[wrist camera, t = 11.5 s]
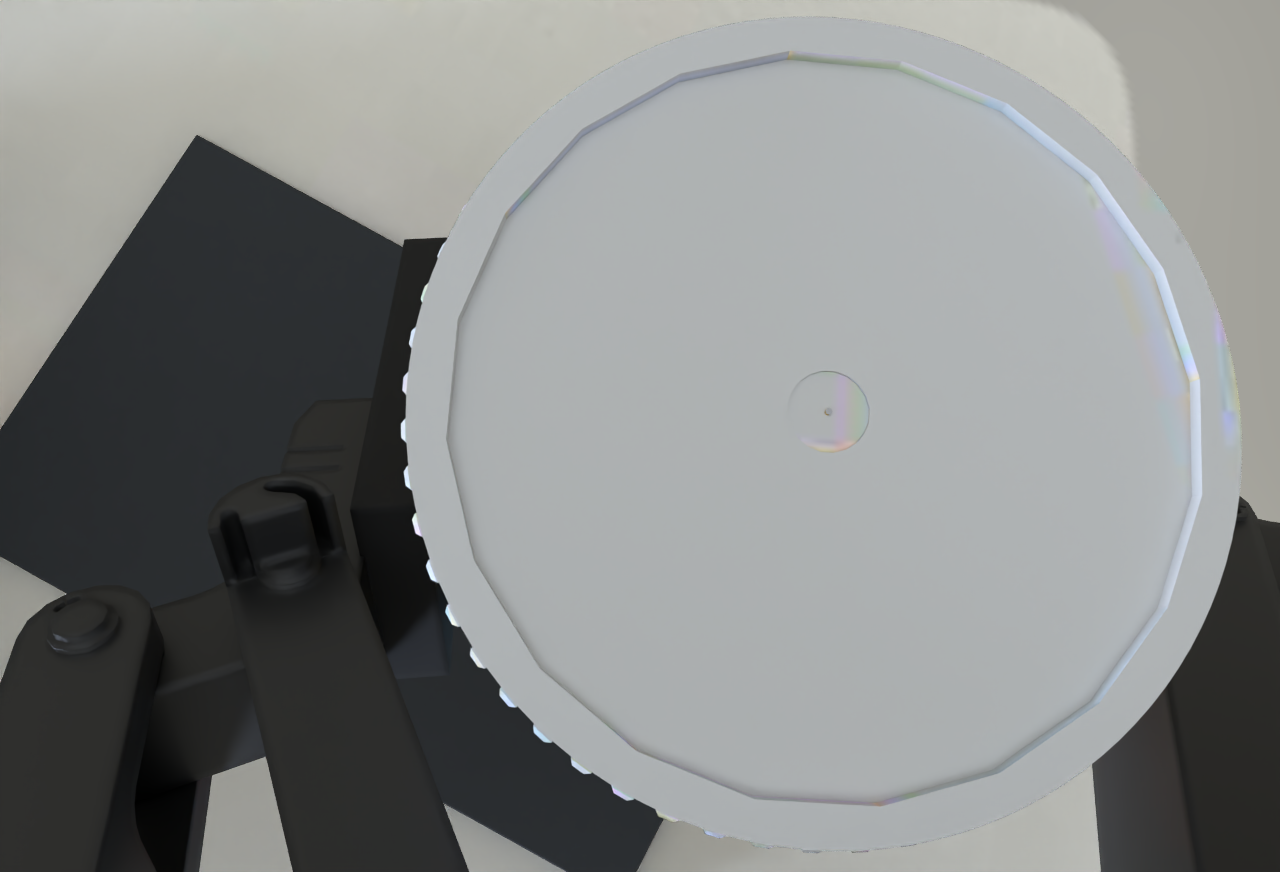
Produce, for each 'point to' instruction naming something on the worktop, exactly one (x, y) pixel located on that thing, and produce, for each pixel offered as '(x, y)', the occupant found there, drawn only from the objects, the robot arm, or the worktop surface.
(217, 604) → the robot arm
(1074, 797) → the worktop surface
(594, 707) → the bottle
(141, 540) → the corner mat
